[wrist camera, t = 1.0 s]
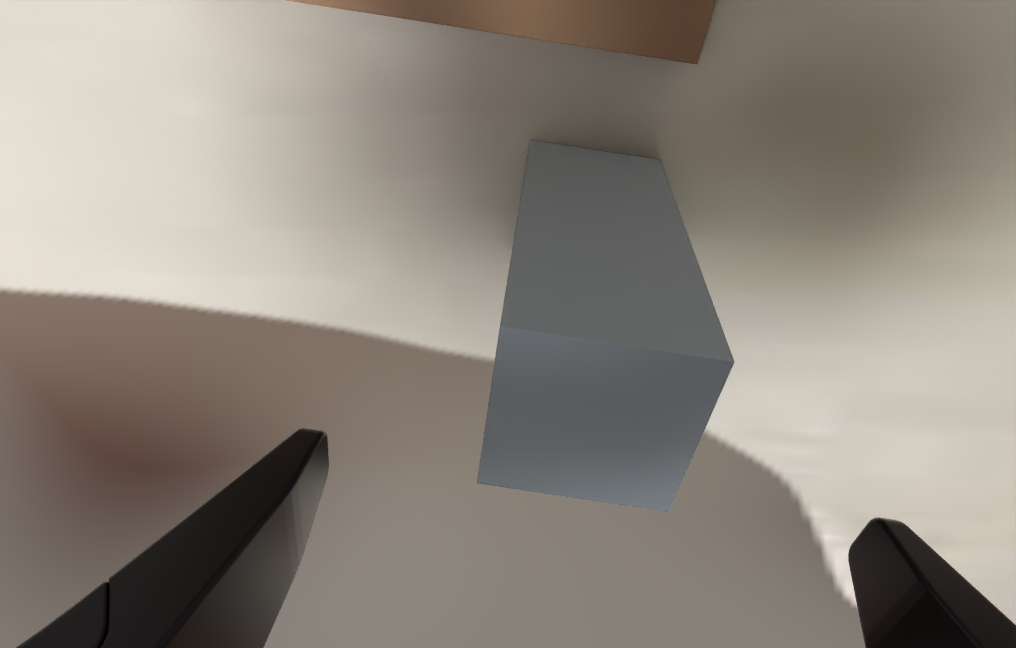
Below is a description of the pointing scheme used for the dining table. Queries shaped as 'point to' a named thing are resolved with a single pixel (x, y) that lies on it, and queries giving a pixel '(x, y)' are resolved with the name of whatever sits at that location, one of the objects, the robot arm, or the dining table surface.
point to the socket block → (565, 21)
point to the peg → (601, 336)
